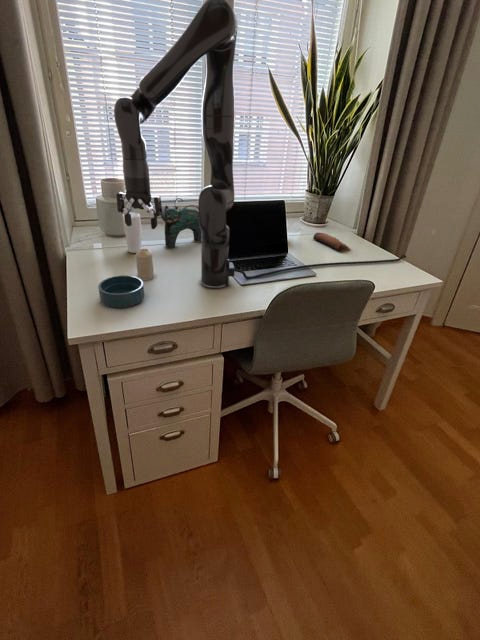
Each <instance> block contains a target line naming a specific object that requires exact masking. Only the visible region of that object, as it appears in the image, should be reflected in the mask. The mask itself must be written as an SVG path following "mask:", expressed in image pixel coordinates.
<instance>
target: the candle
mask: <svg viewBox="0 0 480 640" xmlns="http://www.w3.org/2000/svg"><path fill="white" fill-rule="evenodd" d="M135 263H136V272H137V273H136V274H137V278H139V279H141V280H142V281H148V280H151V279H153V278H154V277H155V275H154V274H155V272H154V261H153V253H152V252H151V251H150V250H148V249H147V248H142V250H139V251H138V252H137V253H135Z"/></svg>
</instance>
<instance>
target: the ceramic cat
mask: <svg viewBox="0 0 480 640" xmlns="http://www.w3.org/2000/svg"><path fill="white" fill-rule="evenodd" d="M178 200H180V201H182V202H184V200H183V199H182V198H180V197H178V198H176V199H174V203H176V202H177V201H178ZM193 207H194V208H193ZM195 208H197V209H198V205H195V204H190V205H189V204H188V205H186V206H184V207H180V208H179V206H176V205H174V207H173V206H170V205H167V204H166V205H165V206H164V207H162V215H160V218H161V220H162V221H163V222H164V243H165V247H166V248H168V249H173V248H176V242H177V239H178V236H179V235H180V232H183V231H184V230H190V231H191V232H192V235H193V241H194V242H195V243H201V229H200V226H199V211H198V210H197V209H195Z"/></svg>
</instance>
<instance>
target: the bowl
mask: <svg viewBox="0 0 480 640" xmlns="http://www.w3.org/2000/svg"><path fill="white" fill-rule="evenodd" d="M97 289H98V295H99V300H100V302H101V303H102V304H103V305H104V306H107V307H109V308H110V307H111V308H119V309H121V308H122V309H123V308H129V307H132V306H135V305H137V304H139V303H141V302H142V301H143V300H145V286H144V280H142V279H139V278H138V276H134V275H126V274H125V275H124V274H123V275H114V276H110V277H107V278H105V279H103V280H102V281H100V282H99V283H98V285H97Z"/></svg>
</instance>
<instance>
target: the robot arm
mask: <svg viewBox="0 0 480 640" xmlns="http://www.w3.org/2000/svg"><path fill="white" fill-rule="evenodd" d="M238 30H239V29H238V20H237V16H236V13H235V12H234V9H233V7H232V5H231V4H230V3H229V1H228V0H205V1H204V2H203V4H202V5H201V6H200V8H199V9H198V11H197V13H196V14H195V16H194V17H193V18H192V20H191V22H189V25H187V27H186V29H185V30H184V31H183V33H182V34H181V36H180V37H179V38H178V39H177V41H176V42H175V43H174V44H173V45H172V46H171V48H170V49H168V51H167V52H166V53H165V54H164V55H163V56H162V57H161V58H160V59H159V60H158V61H157V62H156V64H155V63H154V64H155V65H153V66H152V68H150V70H148V71H147V73H145V75H144V76H143V77H142V78H141V79H140V80H139V83H138V87H137V88H136V90H134V92H133V93H132V94H130V96H122V97H119V98H118V99H117V100H116V101H115V103H114V107H113V116H114V122H115V123H114V124H115V125H116V126H115V127H116V130H117V134H118V136H119V139H120V145H121V154H122V156H121V157H122V173H123V181H124V189H125V192H123V191H119V192H117V193H116V208H117V209H116V210H117V212H118V213H121V214H122V215H123V214H124V217H125V223H126V224H127V226H131V225H132V221H131V214H130V213H131V211H132V210H133V209H134V210H137V209H139V210H144V211H145V212H146V213H147V214H148V215H149V216H150V229H151V230H155V229H156V228H157V227H158V217H161V215H162V209H163V206H162V199H161V198H162V197H161V195H156V196H154V195H152V194H151V183H150V181H151V180H150V170H149V168H150V167H149V163H148V154H147V144H146V139H144V137H143V136H142V130H141V125H142V124H144V123H145V122H146V121H147V120H148V119H149V118H150V116H151V115H152V114H153V112H154V111H155V110H156V109H157V107H158V106H159V105H160V104H161V103H162V102H164V101H165V100H166V99H167V98H168V97H169V96H170V95H171V94H172V93H173V92H174V91H175V90H176V89H177V87H178V86H179V85H180V84H181V82H183V80H184V79H185V77H186V75H188V73H189V71H190V70H191V69H192V68H193V67H194V65H196V64H197V62H198V61H200V60H201V59H202V58H203V57H204V56H205V64H206V65H205V67H206V71H205V74H206V75H205V81H204V88H203V94H202V101H201V134H202V140H203V144H204V147H205V150H206V153H207V156H208V159H209V166H210V177H209V185H207V186H205V187H203V188H202V189H201V190H200V193H199V195H198V199H197V200H198V201H197V207H198V208H197V209H198V210H197V211H198V212H199V226H200V229H201V242H200V243H201V247H200V248H201V254H200V255H201V257H200V258H201V264H200V266H201V270H200V273H201V277H200V279H201V280H200V284H201V285H202V286H203V287H205V288H208V289H215V290H216V289H223V288H225V287H229V285H230V284H229V282H230V277H235V272H237V273H240V274H242V275H243V278H245V279H247V280H250V279H257V278H260V277H264V276H269V275H273V274H277V273H282V272H288V271H293V270H298V269H299V270H300V269H306V268H314V267H324V266H339V265H360V264H361V265H362V264H379V263H392V262H393V263H394V262H399V261H401V260H402V259H403V258H404V259H405V258H407V255H406V254H402V255H401V256H400V257H399V258H394V259H393V258H392V259H381V260H380V259H379V260H378V259H377V260H363V261H360V260H359V261H340V262H326V263H325V262H324V263H313V264H305V265H299V266H293V267H286V268H281V269H277V270H272V271H269V272H263V273H258V274H256V275H251V276H249V275H247V273H246V272H245V271H243V270H241V269H238V268H236V267H235V265H234V263H233V262H231V261H230V258H229V257H230V234H231V230H230V227H229V226H228V225H227V212H228V211H230V210H231V209H232V208H233V206H234V203H235V184H234V183H235V182H234V149H235V148H234V143H235V121H236V120H235V119H236V117H235V115H236V114H235V113H236V111H235V85H234V84H235V83H234V66H235V65H234V64H235V53H236V45H237V44H236V43H237V37H238ZM125 200H127V204H126V206H125ZM151 202H152V203H153V204H154V206H153V205H152V203H151Z"/></svg>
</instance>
